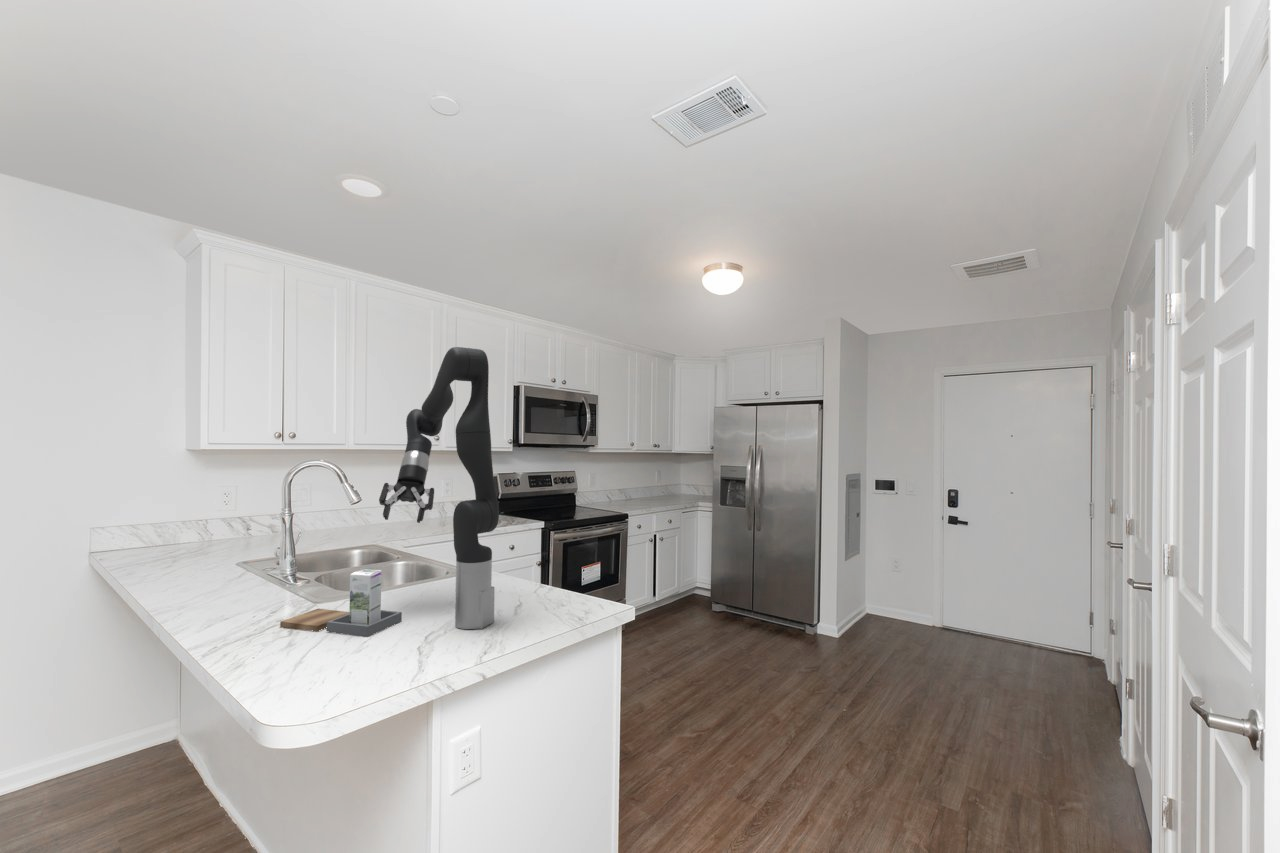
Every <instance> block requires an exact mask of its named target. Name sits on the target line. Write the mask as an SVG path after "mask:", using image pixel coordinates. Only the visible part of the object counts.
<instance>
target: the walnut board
mask: <svg viewBox="0 0 1280 853" xmlns="http://www.w3.org/2000/svg"><path fill="white" fill-rule="evenodd" d="M349 613H350V611H344V610H336V609H335V610H334V609H333V610H332V609H326V608H316V609H312V610H310V611H306V612H304V613H302V614H298V615H295V616H292V617H290V618H287V619H283V620H280V623H279V624H280V625H279V627H280V628H282V627H285V628H284V629H290V628H294V629H293V630H298V629H305V630H304V631H306V630H313V631H312V632H314V631H318V632H320V631H319V630H321V629H323V630H325V629H324V628H326V627H327V622H328V621H331V620H333V619H336V618H338V617H341V616H344V615H346V614H349ZM321 631H322V630H321Z"/></svg>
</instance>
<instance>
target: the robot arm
mask: <svg viewBox="0 0 1280 853" xmlns="http://www.w3.org/2000/svg"><path fill="white" fill-rule="evenodd" d="M487 355H488V354H486V352H485V351H484V350H483V349H480V348H473V347H472V348H471V347H463V346H461V347H460V346H453V347H451V348H449V349H448V350H447V351H446V354H445V355H444V357H443V359H442V361H441V365H440V367H439V370H438V372H437V374H436V375H437V376H436V378H435V381H434V384H433V387H432V388H431V390H430V392H429V394H428V395H427V397H426V398H425V400H424V402H423V403H422V406H421V409H418V408H414V409H412V410H410V412H409V413H408V414H407V416H406V422H405V424H406V434H407V435H406V436H407V437H406V439H407V442H406V447H405V450H404V455H403V457H402V460H401V464H400V468H399V471H398V475H397V481H396V483H395V484H394V485H393V484H389V483H388V482H385V483H384V484H383V486H382V489H381V493H380V496H379V499H378V502H379V505H381V506H384V508H383V513H382V517H383V518H384V520H386V521H387V520H389V516H390V512H391V510H392V508H391V507H392V506H394V505H395V504H397V503H398V502H399V501H401V502H403V503H404V502H405V503H406V502H408V503H414V502H415V503H416V504H417V506H418V507H419V508H418V509H419V510H418V514H417V519H416V523H418V524H420V523H421V522H423V520H424V517H425V512H426V511H427V510H429V511H431V510H433V507H434V498H435V488H434V487H430V488H425V484H426V479H427V474H428V471H429V465H430V464H429V463H430V456H431V452H432V447H433V445H432V444H433V443H432V441H431V440H430V439H429V438H428V437H436V436H437V435H439V434H440V433H441V431H442V429H443V428H442V426H443V421H444V418H445V415H446V413H448V411H449V410H450V408H451V407H452V405H453V402H454V393H453V390H452V386H451V384H452V383H453V382H454V381H459V382H461V381H462V382H471V386H470V387H471V389H470V390H471V391H470V398H469V400H468V403H467V405H466V407H465V409H464V410H463V412H462V414H461V416H460V417H459V419H458V422H457V424H456V427H455V442H456V447H455V448H456V453H457V456H458V458H459V460H460V462H461V463H462V465H463V467H464V469H465V470H466V471H467V473H468V474H469V476H470V478H471V480H472V483H473V488H474V494H475V499H469V500H463V501H460V502H459V503H457V504H456V505H455V508H454V511H453V515H452V516H453V517H452V518H453V519H452V523H453V524H452V527H453V528H452V529H453V531H452V532H453V547H454V552H455V558H456V560H455V603H454V604H455V605H454V606H455V608H454V610H455V612H454V613H455V614H454V618H455V619H454V626H455V627H456V628H458V629H460V630H462V629H463V630H475V629H477V630H478V629H480V630H481V629H485V628H486V627H487V626H489V625H491V624H492V623H495V590H496V589H495V586H493V585H492V575H493V574H492V570H493V569H492V567H493V564H492V563H493V550H492V548H491V547H490V546H486V545H482V544H481V543H480V542H479V534H485V533H491V532H493V531H495V529H496V528H497V527H498V525H499V524H498V523H499V521H500V520H499V518H500V509H499V503H498V496H497V491H496V485H495V480H494V477H495V476H494V468H493V459H492V458H493V456H492V437H491V425H490V415H489V414H490V413H489V412H490V411H489V377H490V376H489V374H490V372H489V371H490V370H489V360H488V356H487ZM427 436H428V437H427ZM392 491H394V493H393V494H392V495H391V496H390V497H389V498H388V499H387V497H388V493H391V492H392ZM425 494H426V497H428V501H427V503H424V501H423V498H422V496H423V495H425Z"/></svg>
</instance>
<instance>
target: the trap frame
mask: <svg viewBox="0 0 1280 853" xmlns="http://www.w3.org/2000/svg"><path fill="white" fill-rule="evenodd" d="M402 616H403V614H402V611H394V610H393V611H392V610H384V609H381V620H379V621H377V622H374V623H372V624H369V625H359V624H351V623H349V614H346V615H344V616H341V617H338V618H336V619H333V620H331V621H328V622H327V628H326V629H325V630H326V631H329V632H328V633H332V632H336V633H335V634H340V633H343V634H342V635H348V634H349V636H357V637H365V636H366V637H367V638H368V637H369V636H372V635H374V633H375V634H377V633H379V632H381V631H383V629H384V630H385V628H386V629H388V628H390V627H393V626H394V624H395V625H398V624H400V623H401V622H402ZM392 625H393V626H392ZM387 627H388V628H387ZM376 632H377V633H376Z"/></svg>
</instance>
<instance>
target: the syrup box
mask: <svg viewBox="0 0 1280 853" xmlns="http://www.w3.org/2000/svg"><path fill="white" fill-rule="evenodd" d="M381 607H382V569H358V570H356V571H354V572H352V573H350V575H349V612H350V613H349V623H351V624H359V625H369V624H372V623H374V622H377V621H379V620H381V610H382V608H381Z"/></svg>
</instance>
